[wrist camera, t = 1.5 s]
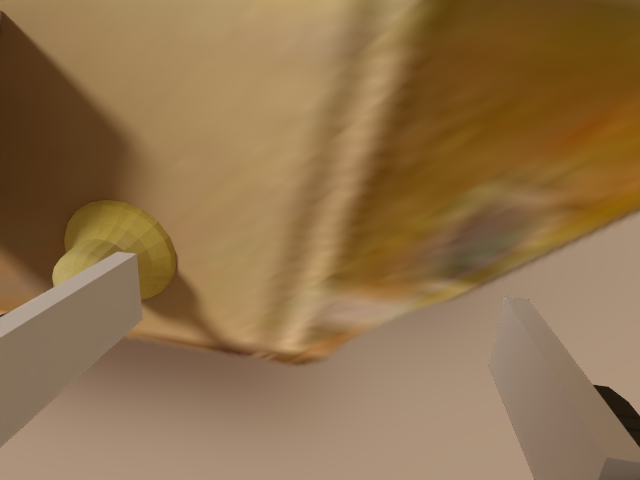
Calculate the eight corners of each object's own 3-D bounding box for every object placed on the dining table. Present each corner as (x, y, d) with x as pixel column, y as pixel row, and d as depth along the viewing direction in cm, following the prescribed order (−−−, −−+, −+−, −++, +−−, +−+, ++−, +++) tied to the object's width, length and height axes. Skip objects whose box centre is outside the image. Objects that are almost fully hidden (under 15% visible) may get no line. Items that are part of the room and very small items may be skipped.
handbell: (196, 284, 46) (49, 513, 23) (104, 311, 48) (-109, 543, 26) (139, 183, 41) (-112, 349, 19) (41, 220, 44) (-286, 405, 21)
